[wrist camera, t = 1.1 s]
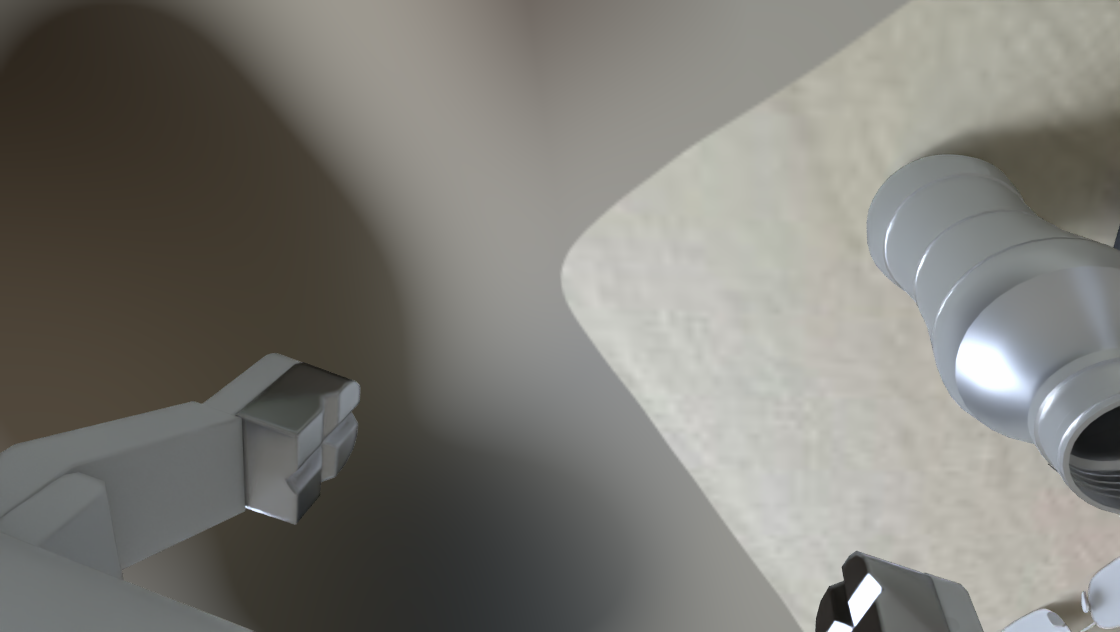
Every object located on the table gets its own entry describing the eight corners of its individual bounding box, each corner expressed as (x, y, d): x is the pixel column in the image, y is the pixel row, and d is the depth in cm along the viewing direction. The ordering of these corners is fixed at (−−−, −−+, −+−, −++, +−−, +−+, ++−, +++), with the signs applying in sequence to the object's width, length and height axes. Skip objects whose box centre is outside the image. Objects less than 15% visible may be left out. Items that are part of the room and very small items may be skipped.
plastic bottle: (854, 274, 35) (976, 552, 17) (861, 148, 32) (1016, 333, 15) (989, 268, 33) (1274, 573, 16) (1009, 136, 30) (1384, 328, 13)
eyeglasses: (980, 644, 44) (997, 697, 40) (880, 578, 44) (889, 626, 41) (1169, 528, 37) (1209, 580, 34) (1049, 451, 37) (1076, 495, 34)
